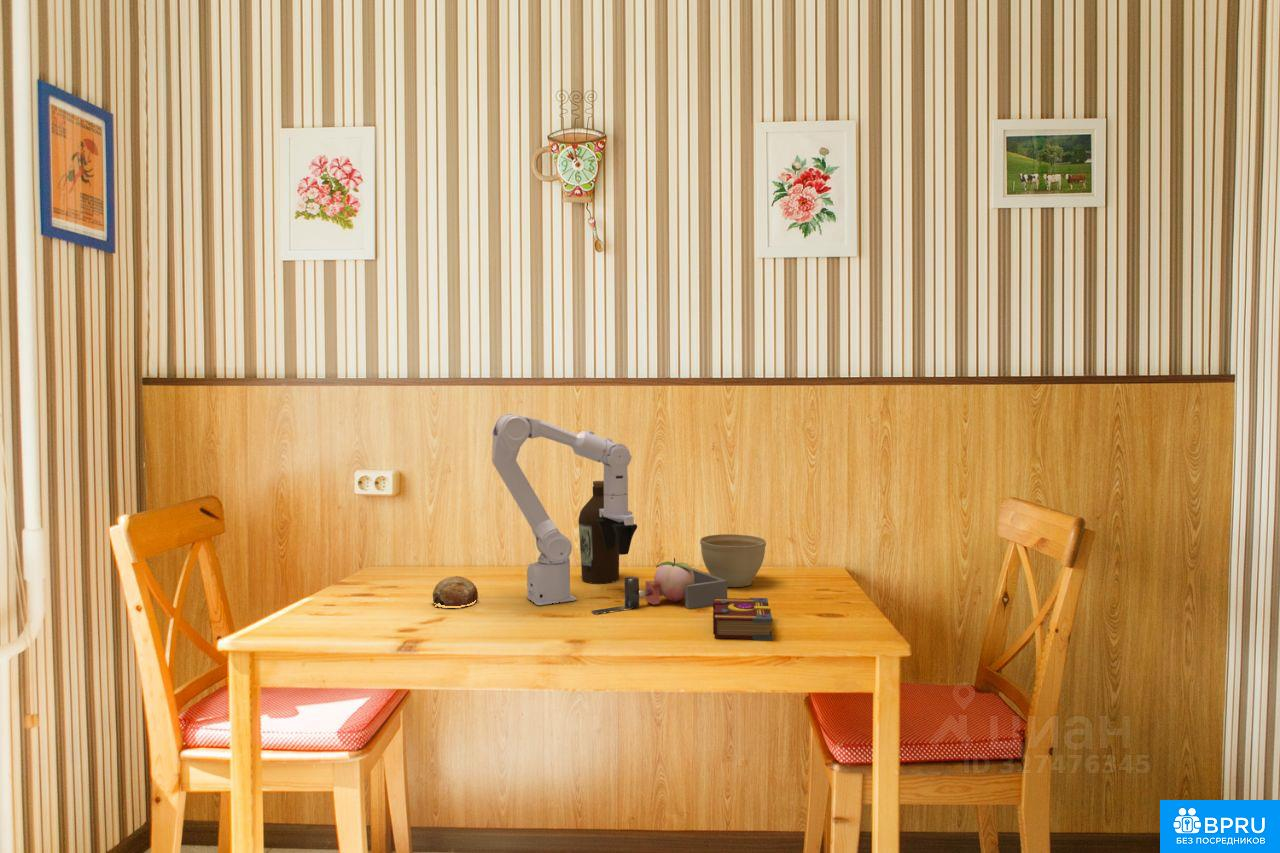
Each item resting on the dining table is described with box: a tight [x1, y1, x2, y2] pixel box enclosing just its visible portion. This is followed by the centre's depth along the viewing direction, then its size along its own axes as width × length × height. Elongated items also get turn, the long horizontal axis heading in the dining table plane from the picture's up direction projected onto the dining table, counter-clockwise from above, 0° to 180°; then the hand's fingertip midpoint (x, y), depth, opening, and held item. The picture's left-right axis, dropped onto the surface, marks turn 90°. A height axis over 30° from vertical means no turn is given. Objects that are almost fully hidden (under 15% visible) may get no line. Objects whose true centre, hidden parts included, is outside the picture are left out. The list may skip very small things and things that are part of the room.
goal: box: [660, 567, 728, 610], centre depth 178 cm, size 10×14×5 cm
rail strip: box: [591, 605, 633, 615], centre depth 169 cm, size 9×2×1 cm, turn 118°
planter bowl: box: [699, 533, 767, 588], centre depth 192 cm, size 16×16×11 cm
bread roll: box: [432, 575, 479, 606], centre depth 176 cm, size 10×10×8 cm
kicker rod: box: [623, 576, 661, 608], centre depth 172 cm, size 8×4×6 cm, turn 118°
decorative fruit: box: [653, 557, 694, 603], centre depth 175 cm, size 9×8×10 cm
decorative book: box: [712, 597, 773, 641], centre depth 156 cm, size 11×16×5 cm
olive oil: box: [578, 480, 620, 584], centre depth 196 cm, size 11×11×25 cm
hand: (616, 551), depth 183 cm, fingers open, 7 cm apart
